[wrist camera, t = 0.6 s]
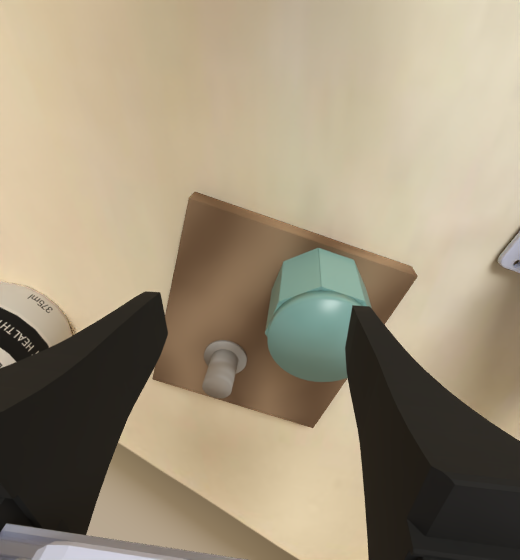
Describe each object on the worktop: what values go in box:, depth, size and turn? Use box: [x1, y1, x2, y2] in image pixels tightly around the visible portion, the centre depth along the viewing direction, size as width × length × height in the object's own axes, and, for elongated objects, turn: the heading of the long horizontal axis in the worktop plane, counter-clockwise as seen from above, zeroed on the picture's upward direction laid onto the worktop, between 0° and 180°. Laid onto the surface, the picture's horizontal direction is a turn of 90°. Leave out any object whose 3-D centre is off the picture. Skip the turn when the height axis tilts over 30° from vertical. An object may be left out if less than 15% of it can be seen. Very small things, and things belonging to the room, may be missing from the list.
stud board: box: [153, 192, 417, 428], centre depth 23 cm, size 14×16×4 cm
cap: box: [265, 248, 371, 382], centre depth 19 cm, size 5×5×5 cm
